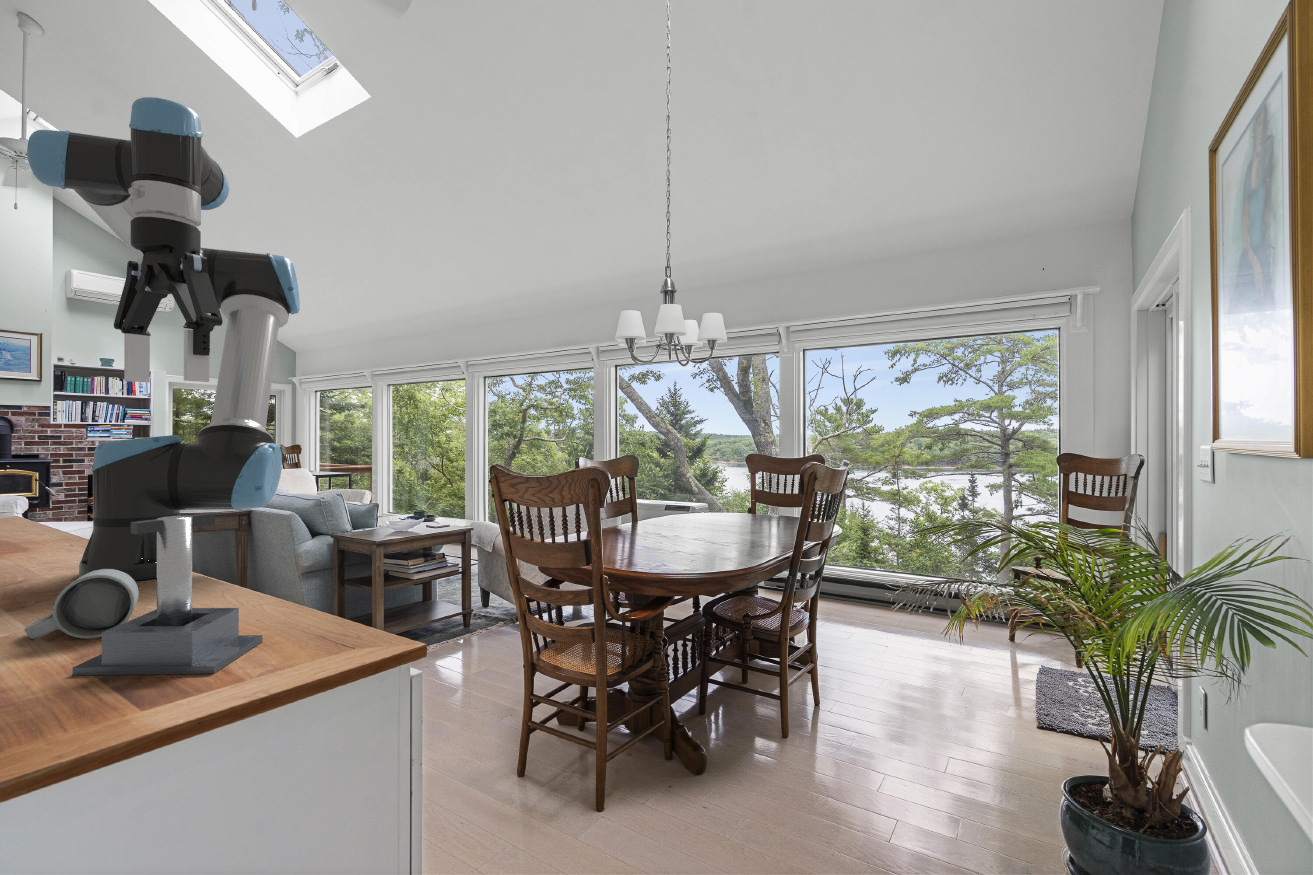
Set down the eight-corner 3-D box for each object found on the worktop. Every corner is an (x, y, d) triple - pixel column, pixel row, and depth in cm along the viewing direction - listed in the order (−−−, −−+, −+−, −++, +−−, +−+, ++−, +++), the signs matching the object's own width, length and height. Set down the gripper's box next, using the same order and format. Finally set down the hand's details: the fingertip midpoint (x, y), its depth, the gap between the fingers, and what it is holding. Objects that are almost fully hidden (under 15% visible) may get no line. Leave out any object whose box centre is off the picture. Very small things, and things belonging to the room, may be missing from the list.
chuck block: (139, 642, 78) (139, 606, 78) (262, 641, 79) (262, 606, 79) (72, 675, 68) (72, 634, 68) (214, 673, 69) (214, 633, 69)
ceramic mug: (140, 616, 88) (139, 559, 88) (134, 633, 81) (133, 572, 81) (33, 630, 82) (32, 569, 82) (17, 649, 75) (15, 584, 75)
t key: (142, 664, 69) (142, 524, 69) (125, 658, 71) (125, 521, 70) (219, 641, 77) (220, 514, 76) (203, 636, 78) (203, 512, 78)
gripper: (82, 224, 89) (82, 380, 90) (193, 202, 79) (192, 378, 79) (144, 239, 96) (144, 383, 96) (254, 220, 85) (253, 382, 86)
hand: (165, 381), depth 88 cm, fingers open, 13 cm apart
